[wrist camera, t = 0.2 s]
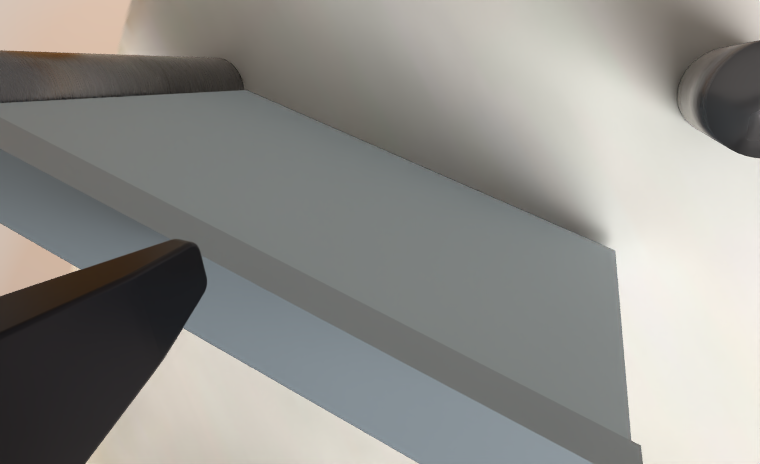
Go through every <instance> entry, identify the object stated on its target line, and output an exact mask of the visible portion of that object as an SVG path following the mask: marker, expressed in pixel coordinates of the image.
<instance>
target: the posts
mask: <svg viewBox="0 0 760 464" xmlns="http://www.w3.org/2000/svg"><path fill="white" fill-rule="evenodd" d="M238 90H243V83H242V79H241V76H240V74H239V72H238V71H237V69H236V68H235V67H234V66H233V65H232V64H231V63H230V62H228V61H226V60H224V59H221V58H201V57H172V56H143V55H113V54H85V53H84V54H83V53H56V52H26V51H0V103H12V102H31V101H50V100H68V99H87V98H106V97H125V96H144V95H163V94H181V93H200V92H219V91H238ZM677 100H678V106H679V109H680V112H681V114H682V115H683V117H684V118H685V120H686V121H687V122H688V123H689V124H690V125H691V126H693V127H694V128H696V129H697V130H699V131H701V132H702V133H704V134H706V135H707V136H709V137H711V138H713V139H714V140H716V141H718V142H719V143H721V144H723V145H724V146H726V147H728V148H729V149H731V150H733V151H735V152H737V153H739V154H742V155H745V156H749V157H754V158H760V41H754V42H749V43H744V44H739V45H734V46H728V47H723V48H719V49H716V50H713V51H710V52H708V53H706V54H704V55H703V56H701V57H700V58H698V59H697V60H696V61H695V62H693V63H692V64H691V65H690V67H689V68H688V69H687V70H686V72H685V73H684V75H683V77H682V79H681V81H680V84H679V87H678V93H677Z"/></svg>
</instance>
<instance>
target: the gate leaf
mask: <svg viewBox="0 0 760 464" xmlns="http://www.w3.org/2000/svg"><path fill="white" fill-rule="evenodd" d="M0 223H1V224H3V225H4V226H6V227H8V228H10V229H11V230H13V231H15V232H17V233H18V234H20V235H22V236H23V237H25V238H27V239H29V240H30V241H32V242H34V243H36V244H37V245H39V246H41V247H43V248H44V249H46V250H48V251H50V252H51V253H53V254H55V255H57V256H58V257H60V258H62V259H64V260H65V261H67V262H69V263H70V264H72V265H74V266H76V267H77V268H79V269H84V268H87V267H90V266H93V265H96V264H99V263H102V262H105V261H108V260H111V259H114V258H117V257H120V256H123V255H126V254H129V253H132V252H135V251H138V250H141V249H144V248H147V247H150V246H153V245H156V244H159V243H162V242H165V241H168V240H171V239H182V240H186V241H191V242H194V243H196V244H197V245H198V247H199V249H200V252H201V256H202V260H203V264H204V268H205V272H206V276H207V287H206V290H205V293H204V294H203V296H202V298H201V299H200V301H199V303H198V304H197V306H196V308H195V309H194V311H193V312H192V314H191V316H190V317H189V319H188V321H187V322H186V324H185V326H184V327H183V328H184V329H186V330H187V331H189V332H191V333H193V334H194V335H196V336H198V337H200V338H201V339H203V340H205V341H206V342H208V343H210V344H212V345H213V346H215V347H217V348H219V349H220V350H222V351H224V352H226V353H227V354H229V355H231V356H233V357H234V358H236V359H238V360H240V361H241V362H243V363H245V364H247V365H248V366H250V367H252V368H254V369H255V370H257V371H259V372H261V373H262V374H264V375H266V376H268V377H269V378H271V379H273V380H275V381H276V382H278V383H280V384H281V385H283V386H285V387H287V388H288V389H290V390H292V391H294V392H295V393H297V394H299V395H301V396H302V397H304V398H306V399H308V400H309V401H311V402H313V403H315V404H316V405H318V406H320V407H322V408H323V409H325V410H327V411H329V412H330V413H332V414H334V415H336V416H337V417H339V418H341V419H343V420H344V421H346V422H348V423H349V424H351V425H353V426H355V427H356V428H358V429H360V430H362V431H363V432H365V433H367V434H369V435H370V436H372V437H374V438H376V439H377V440H379V441H381V442H383V443H384V444H386V445H388V446H390V447H391V448H393V449H395V450H397V451H398V452H400V453H402V454H404V455H405V456H407V457H409V458H411V459H412V460H414V461H416V462H417V463H419V464H643V462H642V453H641V446H640V445H638V444H637V443H635V442H633V441H631V433H630V421H629V409H628V397H627V385H626V374H625V362H624V350H623V338H622V326H621V314H620V302H619V291H618V279H617V267H616V255H615V250H613V249H610V248H608V247H606V246H603V245H601V244H599V243H596V242H594V241H592V240H590V239H587V238H585V237H583V236H580V235H578V234H576V233H574V232H571V231H569V230H567V229H564V228H562V227H560V226H557V225H555V224H553V223H551V222H548V221H546V220H544V219H541V218H539V217H537V216H534V215H532V214H530V213H528V212H525V211H523V210H521V209H518V208H516V207H514V206H512V205H509V204H507V203H505V202H502V201H500V200H498V199H495V198H493V197H491V196H489V195H486V194H484V193H482V192H479V191H477V190H475V189H472V188H470V187H468V186H466V185H463V184H461V183H459V182H456V181H454V180H452V179H450V178H447V177H445V176H443V175H440V174H438V173H436V172H433V171H431V170H429V169H427V168H424V167H422V166H420V165H417V164H415V163H413V162H410V161H408V160H406V159H404V158H401V157H399V156H397V155H394V154H392V153H390V152H388V151H385V150H383V149H381V148H378V147H376V146H374V145H371V144H369V143H367V142H365V141H362V140H360V139H358V138H355V137H353V136H351V135H348V134H346V133H344V132H342V131H339V130H337V129H335V128H332V127H330V126H328V125H326V124H323V123H321V122H319V121H316V120H314V119H312V118H309V117H307V116H305V115H303V114H300V113H298V112H296V111H293V110H291V109H289V108H286V107H284V106H282V105H280V104H277V103H275V102H273V101H270V100H268V99H266V98H264V97H261V96H259V95H257V94H254V93H252V92H250V91H247V90H238V91H219V92H200V93H181V94H163V95H144V96H125V97H106V98H87V99H68V100H50V101H31V102H12V103H0Z"/></svg>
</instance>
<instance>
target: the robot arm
mask: <svg viewBox="0 0 760 464" xmlns="http://www.w3.org/2000/svg"><path fill="white" fill-rule="evenodd" d="M206 287H207V276H206V272H205V268H204V264H203V260H202V256H201V252H200V249H199V247H198V245H197V244H196V243H194V242H191V241H186V240H182V239H171V240H168V241H165V242H162V243H159V244H156V245H153V246H150V247H147V248H144V249H141V250H138V251H135V252H132V253H129V254H126V255H123V256H120V257H117V258H114V259H111V260H108V261H105V262H102V263H99V264H96V265H93V266H90V267H87V268H84V269H81V270H78V271H75V272H72V273H69V274H66V275H63V276H60V277H57V278H54V279H51V280H48V281H45V282H42V283H39V284H36V285H33V286H30V287H27V288H24V289H21V290H18V291H15V292H12V293H9V294H6V295H3V296H0V464H85V463H86V462H87V461H88V459H89V458H90V457H91V455H92V454H93V453H94V451H95V450H96V449H97V447H98V446H99V445H100V443H101V442H102V441H103V440H104V438H105V437H106V436H107V434H108V433H109V432H110V430H111V429H112V428H113V426H114V425H115V424H116V422H117V421H118V420H119V418H120V417H121V416H122V414H123V413H124V412H125V410H126V409H127V408H128V406H129V405H130V404H131V402H132V401H133V400H134V398H135V397H136V396H137V394H138V393H139V392H140V390H141V389H142V388H143V387H144V385H145V384H146V383H147V381H148V380H149V379H150V377H151V376H152V375H153V373H154V372H155V371H156V369H157V368H158V366H159V365H160V364H161V362H162V361H163V359H164V358H165V356H166V355H167V353H168V352H169V350H170V348H171V347H172V345H173V344H174V342H175V340H176V339H177V337H178V335H179V334H180V332H181V330H182V329H183V327H184V326H185V324H186V322H187V321H188V319H189V317H190V316H191V314H192V312H193V311H194V309H195V308H196V306H197V304H198V303H199V301H200V299H201V298H202V296H203V294H204V293H205V290H206Z"/></svg>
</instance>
